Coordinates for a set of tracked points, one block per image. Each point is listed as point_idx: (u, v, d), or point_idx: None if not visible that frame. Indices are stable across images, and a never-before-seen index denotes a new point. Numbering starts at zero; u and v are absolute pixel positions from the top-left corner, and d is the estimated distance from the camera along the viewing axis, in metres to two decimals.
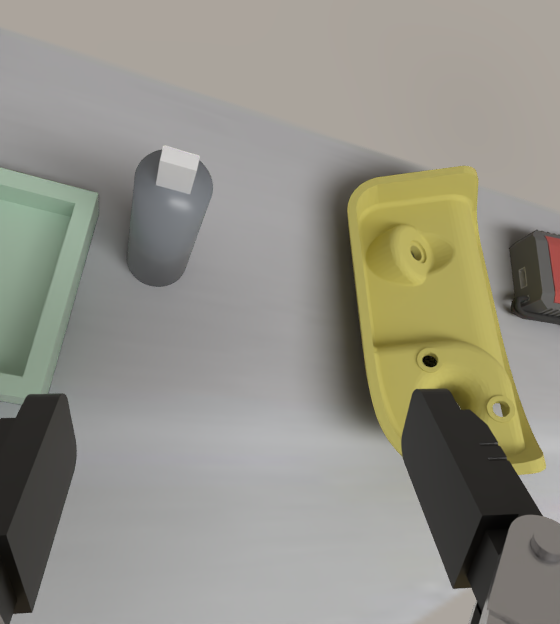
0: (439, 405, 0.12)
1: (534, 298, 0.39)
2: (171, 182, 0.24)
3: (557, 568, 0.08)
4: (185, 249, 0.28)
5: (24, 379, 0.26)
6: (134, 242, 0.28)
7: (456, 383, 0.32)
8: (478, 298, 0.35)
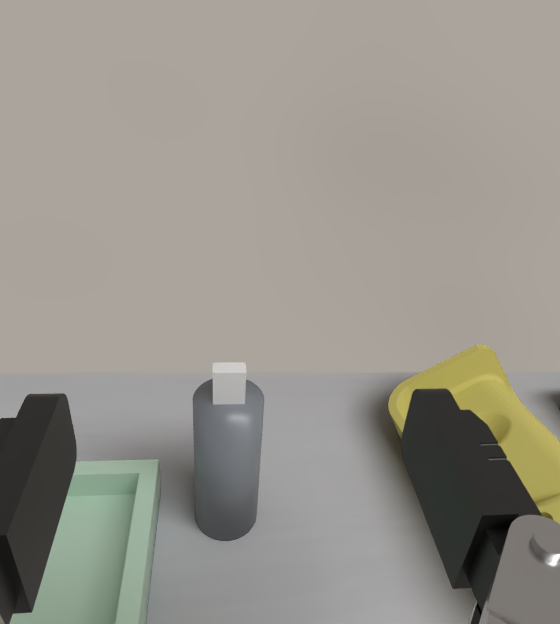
0: (439, 405, 0.12)
1: None
2: (226, 395, 0.26)
3: (557, 568, 0.08)
4: (252, 473, 0.28)
5: None
6: (202, 483, 0.28)
7: None
8: (557, 450, 0.33)
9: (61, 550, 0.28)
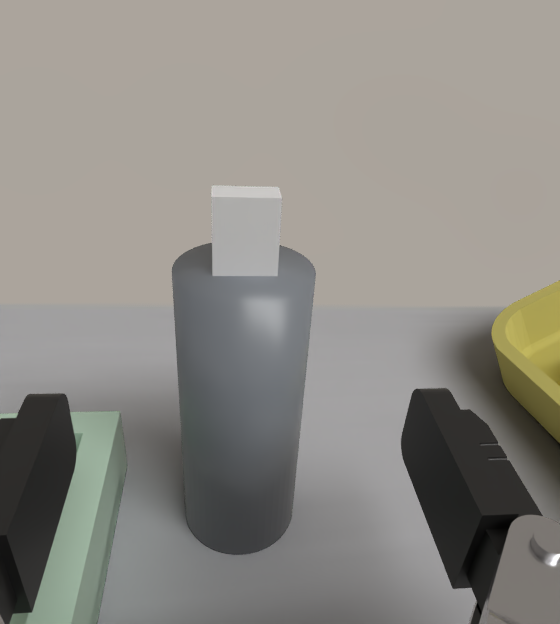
0: (439, 405, 0.12)
1: None
2: (240, 255, 0.13)
3: (557, 568, 0.08)
4: (291, 423, 0.15)
5: None
6: (194, 445, 0.15)
7: None
8: None
9: None
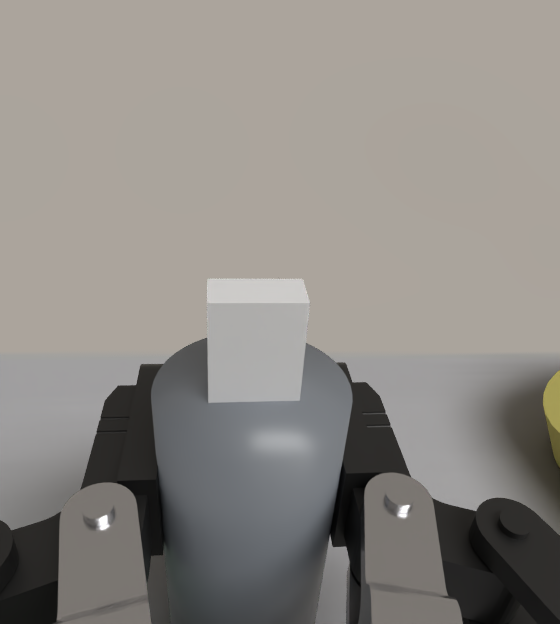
0: None
1: None
2: (247, 376, 0.09)
3: (402, 518, 0.09)
4: (314, 581, 0.11)
5: None
6: (183, 608, 0.11)
7: None
8: None
9: None
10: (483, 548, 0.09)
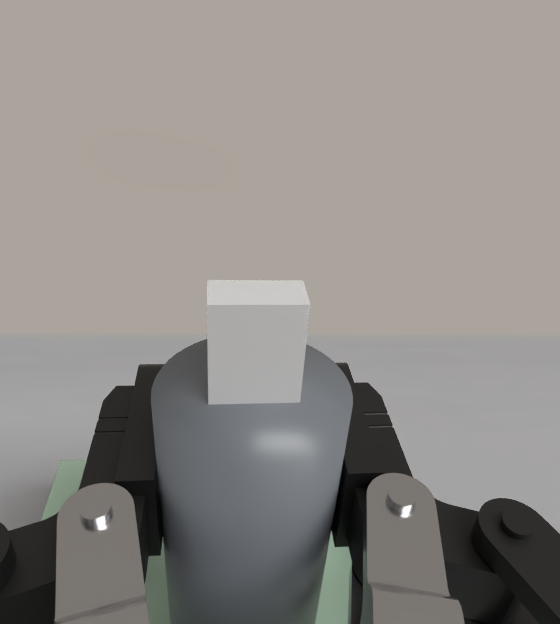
0: None
1: None
2: (247, 377, 0.09)
3: (405, 518, 0.09)
4: (314, 583, 0.11)
5: None
6: (183, 610, 0.11)
7: None
8: None
9: None
10: (486, 548, 0.09)
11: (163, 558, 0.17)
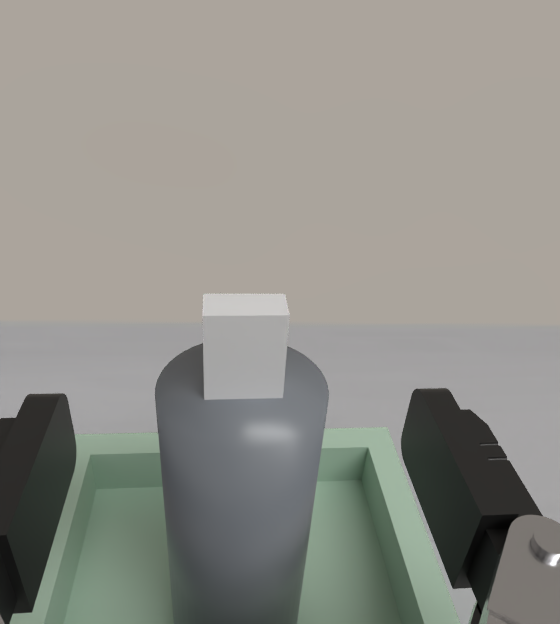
0: (439, 405, 0.12)
1: None
2: (237, 377, 0.10)
3: (557, 568, 0.08)
4: (297, 556, 0.12)
5: None
6: (183, 580, 0.12)
7: None
8: None
9: None
10: None
11: (164, 525, 0.18)
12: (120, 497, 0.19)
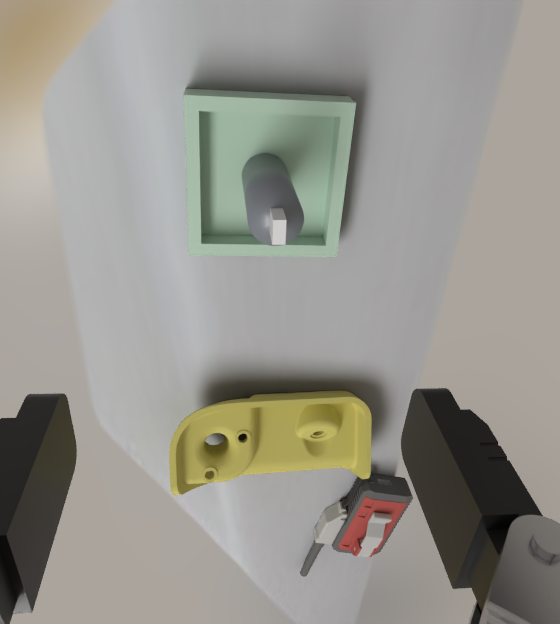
0: (439, 405, 0.12)
1: (370, 486, 0.60)
2: (270, 221, 0.33)
3: (557, 568, 0.08)
4: None
5: (199, 245, 0.42)
6: (252, 175, 0.37)
7: (228, 450, 0.53)
8: (282, 467, 0.55)
9: None
10: None
11: (310, 146, 0.40)
12: (329, 124, 0.40)
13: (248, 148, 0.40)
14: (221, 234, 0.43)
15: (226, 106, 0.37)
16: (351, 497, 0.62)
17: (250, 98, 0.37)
